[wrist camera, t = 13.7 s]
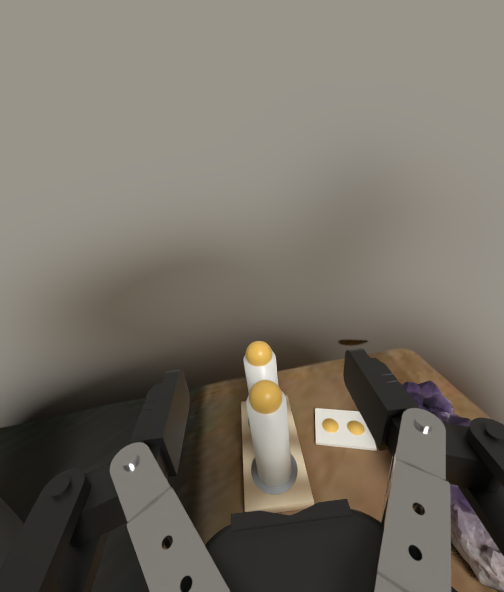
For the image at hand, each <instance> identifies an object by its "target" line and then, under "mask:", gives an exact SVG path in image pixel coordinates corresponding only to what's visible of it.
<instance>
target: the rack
mask: <svg viewBox="0 0 504 592" xmlns="http://www.w3.org/2000/svg"><path fill="white" fill-rule="evenodd" d="M285 397H286V402H287V415H288V429H289V442H290V455H291V468H292V472H291V476H290V479H289V480H288V482H287V483H286V484H284V485H283V486H280V487H275V488H274V487H269V486H267V485H265V484H264V483H263V482H262V481H261V480H260V478H259V476H258V472H257V466H256V460H255V454H254V448H253V442H252V436H251V430H250V424H249V418H248V412H247V405H246V401H243V402H241V416H242V444H243V472H244V500H245V512H251V511H258V510H261V511H266V512H272V513H278V512H285V511H292V510H299V509H306V508H308V507H310V506H312V505H314V500H313V496H312V492H311V488H310V484H309V480H308V476H307V472H306V468H305V464H304V460H303V456H302V452H301V448H300V444H299V440H298V436H297V432H296V428H295V424H294V420H293V416H292V412H291V408H290V404H289V400H288V395H287V396H285Z"/></svg>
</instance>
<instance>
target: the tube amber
mask: <svg viewBox="0 0 504 592" xmlns="http://www.w3.org/2000/svg"><path fill="white" fill-rule="evenodd" d="M246 405H247V412H248V418H249V424H250V430H251V436H252V442H253V448H254V454H255V460H256V466H257V472H258V476H259V478H260V480H261V481H262V482H263V483H264V484H265V485H267V486H269V487H274V488H275V487H280V486H283V485H284V484H286V483H287V482H288V480H289V479H290V476H291V472H292V468H291V455H290V442H289V429H288V415H287V402H286V397H285V395H284V393H283V392H282V391H281V390H280V388H279V386H278V385H277V384H276V383H274V382H273V381H270V380H261V381H258V382H257V383H255V384H254V385H253V387H252V388H251V390H250V394H249V396H248V398H247V401H246Z"/></svg>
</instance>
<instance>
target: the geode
mask: <svg viewBox="0 0 504 592" xmlns="http://www.w3.org/2000/svg"><path fill="white" fill-rule="evenodd" d="M402 386H403V388H404V389H405V390H406V391H407V393H408V394H409V395H410V397H411V398H412V399H413V400H414V402H415V403H416V404H417V405H418V407H419V408H420V409H423V410H426V411H428V412H430V413H432V414H434V415H435V416H436V417H438V418H439V419H440V420H441V422H444V423H449V424H455V425H462V426H468V427H469V425H470V423H471V420H470V419H468V418H462V417H460V416H459V415H454V408H453V407H452V406H451V401H450V400H449V399H447V398H446V397H444V396H443V394H442V393H441V391H440V390H439V388H438V387H437V386H436V384H434V383H433V382H432V381H427V382H424V383H421V384H416V383H413V382H405V383H404V384H403V385H402ZM450 510H451V542H452V543H453V545H454V546H455V548H456V549H457V550H458V552H459V553H460V555H461V556H462V557H463V559H464V560H465V561H466V562H467V563H468V564H469V565H470V567H471V569H472V570H473V572H474V573H475V575H476V577H477V578H478V580H479V581H480V583H482V584H483V585H485V586H488V587H491V588H494V589H496V590H497V591H499V592H504V556H503V555H502V553H501V552H500V550H499V549H498V547H497V545H496V544H495V542H494V541H493V539H492V538H491V536H490V535H489V533H488V532H487V530H486V529H485V527H484V526H483V524H482V523H481V521H480V519H479V518H478V516H477V515H476V513H475V512H474V510H473V509H472V507H471V506H470V504H469V503H468V501H467V500H466V498H465V496H464V495H463V493H462V492H461V490H460V489H459V487H458V486H457V485H452V484H450Z"/></svg>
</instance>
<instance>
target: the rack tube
mask: <svg viewBox="0 0 504 592" xmlns="http://www.w3.org/2000/svg"><path fill="white" fill-rule="evenodd" d="M243 360H244V367H245V373H246V379H247V386H248V392H249V394H250V390H251V388H252V387H253V385H254V384H255V383H257V382H258V381H261V380H270V381H273V382H274V383H276V384H277V385H278V377H277V367H276V356H275V354H274V352H272V350H271V348H270V346H269V345H268V344H267V343H265V342H262V341H256V342H253V343H251V344H250V345H249V346H248V348H247V350H246V355H245V356H244V359H243Z"/></svg>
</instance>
